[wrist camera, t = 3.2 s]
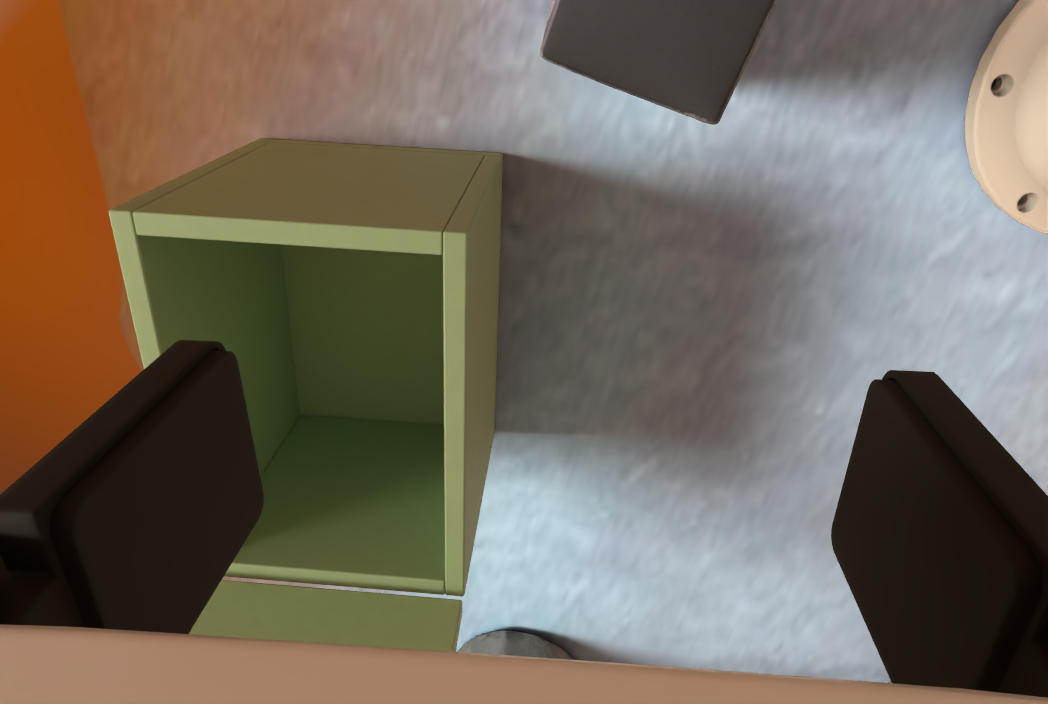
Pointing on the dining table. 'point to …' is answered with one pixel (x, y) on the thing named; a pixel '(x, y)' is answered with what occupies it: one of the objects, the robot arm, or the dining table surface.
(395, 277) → the chest
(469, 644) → the moka pot
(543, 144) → the dining table surface
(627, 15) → the small box
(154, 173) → the dining table surface
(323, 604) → the lid
